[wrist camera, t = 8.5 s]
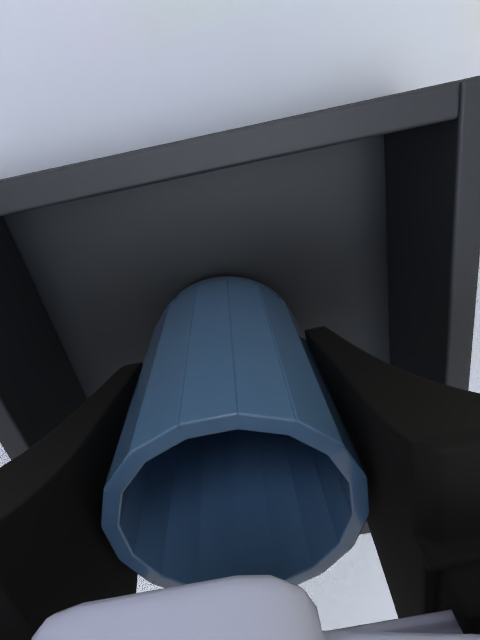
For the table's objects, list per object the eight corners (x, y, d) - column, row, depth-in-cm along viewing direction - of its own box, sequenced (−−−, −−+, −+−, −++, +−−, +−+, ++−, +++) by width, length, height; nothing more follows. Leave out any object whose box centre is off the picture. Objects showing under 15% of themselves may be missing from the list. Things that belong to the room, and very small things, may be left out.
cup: (176, 412, 15) (148, 616, 9) (136, 292, 13) (56, 448, 6) (306, 387, 15) (374, 576, 8) (288, 261, 12) (362, 389, 6)
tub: (116, 483, 18) (87, 584, 14) (-25, 186, 12) (-147, 211, 8) (402, 428, 17) (458, 517, 13) (398, 94, 12) (497, 71, 8)
